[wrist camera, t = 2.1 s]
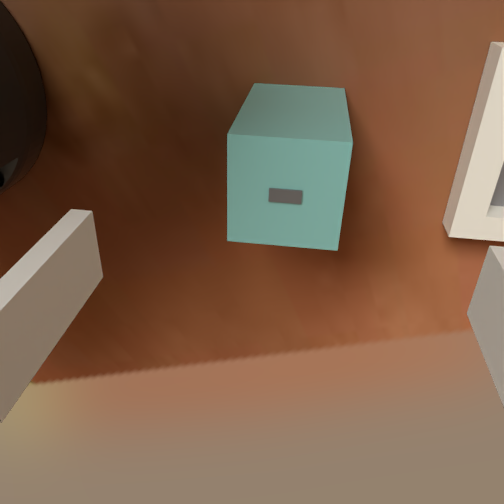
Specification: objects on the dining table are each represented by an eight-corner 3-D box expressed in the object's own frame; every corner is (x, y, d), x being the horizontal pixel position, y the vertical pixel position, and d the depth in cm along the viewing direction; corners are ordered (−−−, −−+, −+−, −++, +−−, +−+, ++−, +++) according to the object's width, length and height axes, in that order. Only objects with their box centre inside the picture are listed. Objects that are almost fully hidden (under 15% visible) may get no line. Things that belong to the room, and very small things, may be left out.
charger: (252, 167, 30) (226, 242, 22) (254, 83, 27) (226, 134, 19) (333, 173, 29) (337, 252, 21) (344, 88, 26) (353, 143, 19)
